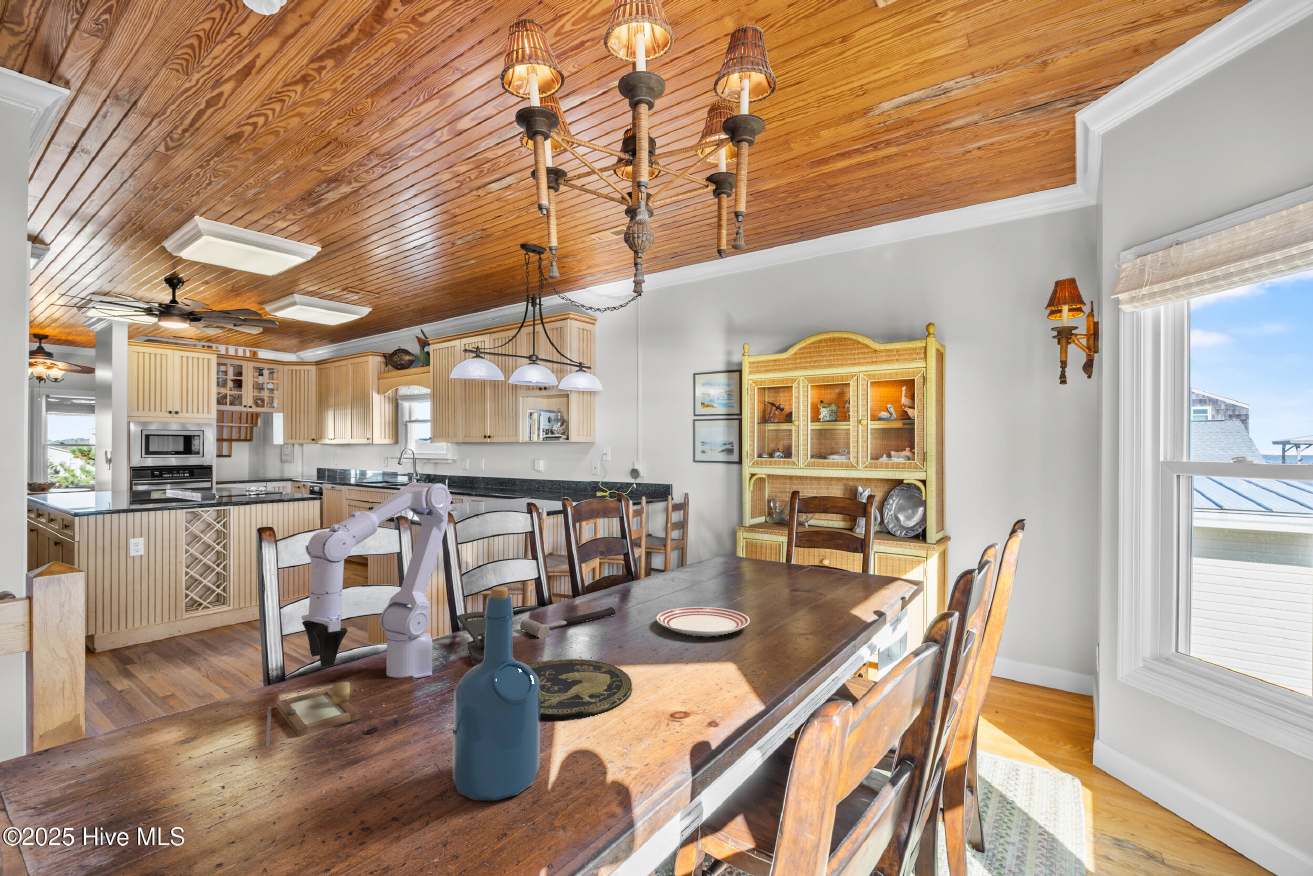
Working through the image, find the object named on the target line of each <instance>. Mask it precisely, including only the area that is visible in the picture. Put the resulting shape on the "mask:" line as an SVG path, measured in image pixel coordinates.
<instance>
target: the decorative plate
mask: <svg viewBox="0 0 1313 876" xmlns="http://www.w3.org/2000/svg"><path fill="white" fill-rule="evenodd" d="M526 665H528V666H529V667H530V668H531V669H532V670H533V671H534V672H535V674H536V675H537V676H538V678H539V681H540V683H541V707H540V722H567V721H576V720H575V719H577V720H582V718H583V719H587V717H588V718H591V717H590V716H592V717H596V716H595V715H597V716H599V715H598V714H600V715H602V713H603V714H606V713H608V712H610V711H613V710H615V709H616V707H617V708H618V706H619V707H620V706H621V705H623V704H624V703H626V701H627V700H628V699H629V698H630V697H631V696H632V695H631V694H632V693H633V684H632V683H633V682H632V679H631V677H630V676H629V674H628V673H626V672H625V671H624V670H623V669H621V668H619V667H618V666H615V665H613V664H611V663H610V664H609V663H606V662H604V661H599V660H592V659H584V658H583V659H581V658H558V659H547V660H546V659H545V660H541V661H536V662H531V663H527V664H526ZM614 708H615V709H614ZM605 712H606V713H605Z"/></svg>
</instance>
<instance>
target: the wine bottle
mask: <svg viewBox="0 0 1313 876" xmlns="http://www.w3.org/2000/svg"><path fill="white" fill-rule="evenodd" d="M490 593H491V595H489V596H488V597H487V599H486V606H485V612H486V613H485V615H486V616H485V617H484V618H485V619H486V631H485V650H484V660H483V661H482V663H480V664H478V665H473V666H471V668H469V669H468V670H467V671H466V672H465V674H463V676H462V677H461V678H460V679H459V680H458V682H457V683H456V685H455V688H454V690H453V709H452V710H453V712H452V714H453V715H452V716H453V717H452V719H453V721H452V727H453V728H452V763H451V765H452V766H451V767H452V771H451V773H452V776H451V778H452V780H453V783H454V785H455V788H456V790H457V792H458V794H460V795H462V796H463V797H466V798H469V799H470V800H473V801H500V800H503V799H506V798H511V797H513V796H517V795H519V794H520V793H522V792H523V791H525V790H526V789H528V788H529V787H530V786H532V785H533V784H534V781H535V779H536V777H537V774H538V771H539V768H540V766H541V765H540V763H541V721H540V707H541V683H540V681H539V678H538V676H537V675H536V674H535V672H534V671H533V670H532V669H531V668H530V667H529V666H528V665H527V664H526V663H524V662H523V661H519V660H516V659H515V658H514V652H513V651H514V650H513V649H514V647H513V646H514V644H513V643H514V642H513V637H514V636H513V618H514V616H515V614H514V610H513V607H514V605H513V598H512V596H511V595H510V594H509V589H508V587H507V586H502V585H500V586H494V587H492V588H491V592H490Z"/></svg>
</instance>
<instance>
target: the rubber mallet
mask: <svg viewBox="0 0 1313 876" xmlns="http://www.w3.org/2000/svg"><path fill="white" fill-rule="evenodd" d="M614 614H615V615H616V609H614V607H612V606H611V607H608V608H605V609H600V610H597V611H593V612H589V613H584V614H580V615H576V616H571V617H567V618H564V619H562V620H558V621H553V622H548V623H544V624H542V623H540V622H537V621H535V620H532V619H530V618H527V617H526V618H524V619H523V620H522V621H521V622H520V623H519V629H520V630H521V631H522V630H524V631H526V632H528V633H527V634H529V633H530V634H529V635H531V634H532V635H531V636H533V635H535V636H536V638H538V637H539V638H538V639H540V638H541V637H545V636H548V635H549V636H550V633H551V632H550V628H555V627H560V626H564V625H565V626H568V624H569V625H574V623H575V624H579V623H578V622H581V623H583V622H582V621H586V620H590V619H595V618H600V617H605V616H611V615H614ZM600 619H601V618H600ZM595 620H596V619H595ZM586 622H587V621H586ZM524 631H523V632H524ZM526 632H525V633H526ZM535 636H534V637H535ZM549 636H548V637H549ZM545 638H546V637H545ZM541 639H542V638H541Z"/></svg>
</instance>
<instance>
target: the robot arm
mask: <svg viewBox="0 0 1313 876" xmlns="http://www.w3.org/2000/svg"><path fill="white" fill-rule="evenodd" d="M452 499H453V497H452V495H451V493H450V491H449V489H448V488H447V486H446V485H445V484H443V483H425V482H415V481H413V482H410V483H408V484H407V485H405V486H401V488H400V489H399V490H398V492H396V493H394V494H393V495H392V496H390V497H389V498H388V499H385V500H384V501H382V502H381V503H380V504H378V505H377V506H375V507H373V508H372V509H371V510H369V511H365V510H359V511H356V510H354V511H352V512H350V517H348V518H346V519H345V520H342V521H341V522H339V523H334V524H331V526H330V528H329V529H328V530H321V531H317V532H315V533H314V534H313V535H312V536H311V538H310V539H309V541H308V544H306V545H305V553H306V555H308V556H309V559H310V566H311V568H310V585H309V601H308V604H309V605H308V614H304V615H303V614H302V615H301V620H302V622H301V624H302V626H303V627H304V630H305V632H306V635H307V640H308V644H309V645H308V646H309V652H310V656H311V657H312V658H314V657H318V656H319V662H320V666H321V667H322V668H323V667H329V666H334V665H335V662H336V659H337V656H338V652H339V649H340V645H341V644H342V641H343V640H344V638H345V636H346V634H347V633H348V628H347V627H341V624H342V623H341V622H342V620H341V619H342V618H343V617H342V616H343V611H342V607H343V606H342V604H343V603H342V602H343V588H344V587H343V585H344V584H343V583H344V571H345V570H344V566H345V559H347V558H348V556H350V554H351V551H352V549H353V548H354V547H356V546H357V545H360V543H363V542H364V541H365V540H367V539H368V538H370V537H371V536H373V535H374V534H376V533H377V531H378V528H379V525H381V524H382V523H384V522H385V521H387V520H389V519H391V518H393V517H394V516H397V515H398V514H400V513H402V512H403V511H406V510H407V509H408V510H410V512H412V514H413V515H415V517H416V518H418V520H419V522H420V525H421V527H420V529H419V533H418V536H417V539H416V542H415V544H414V548H413V551H412V554H411V558H410V560H409V564H408V566H407V569H406V573H405V575H404V579H403V581H402V585H401V587H400V590H399V591H398V592H396V593H395V594H393V595H392V596H391V597H390V598H389V601H388V604H387V606H386V607H385V608H384V609H383V610H382V612H381V615H380V618H379V624H380V627H381V628H382V630H384V631H385V636H386V637H387V638H386V673H385V674H386V676H387V677H389V678H390V677H391V678H396V679H397V678H406V677H410V676H411V677H413V678H415V679H420V678H424V677H430V676H432V675H433V671H432V670H433V667H432V665H433V640H432V635H431V633H430V632H425V631H426V630H427V628H428V627H429V622H430V609H431V603H430V602H429V600H428V599H427V596H426V592H427V590H428V586H429V584H430V580H431V576H432V573H433V570H434V567H435V564H436V561H437V557H438V555H439V551H440V548H441V544H442V542H443V538H444V535H445V532H446V529H447V526H448V523H449V522H448V521H449V509H450V506H451V503H452Z"/></svg>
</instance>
